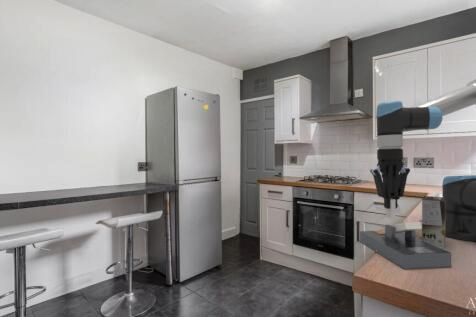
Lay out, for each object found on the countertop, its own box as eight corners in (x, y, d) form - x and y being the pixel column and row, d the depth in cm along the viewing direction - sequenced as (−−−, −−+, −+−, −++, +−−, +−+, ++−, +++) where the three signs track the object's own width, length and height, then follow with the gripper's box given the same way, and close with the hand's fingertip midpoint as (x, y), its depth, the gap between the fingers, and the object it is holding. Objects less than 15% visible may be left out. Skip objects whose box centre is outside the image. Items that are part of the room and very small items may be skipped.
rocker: (396, 233, 88) (394, 226, 89) (422, 228, 77) (420, 221, 78) (382, 233, 88) (380, 227, 89) (406, 229, 77) (403, 221, 78)
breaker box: (396, 240, 95) (396, 216, 95) (451, 266, 73) (451, 235, 73) (359, 242, 94) (359, 217, 93) (404, 269, 72) (404, 237, 71)
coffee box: (444, 249, 86) (445, 200, 86) (421, 245, 90) (421, 198, 90) (445, 241, 93) (445, 197, 93) (423, 238, 97) (423, 195, 97)
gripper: (399, 147, 92) (401, 214, 92) (364, 148, 91) (366, 216, 91) (416, 147, 84) (417, 219, 85) (378, 148, 83) (379, 221, 84)
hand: (390, 217), depth 88 cm, fingers closed
